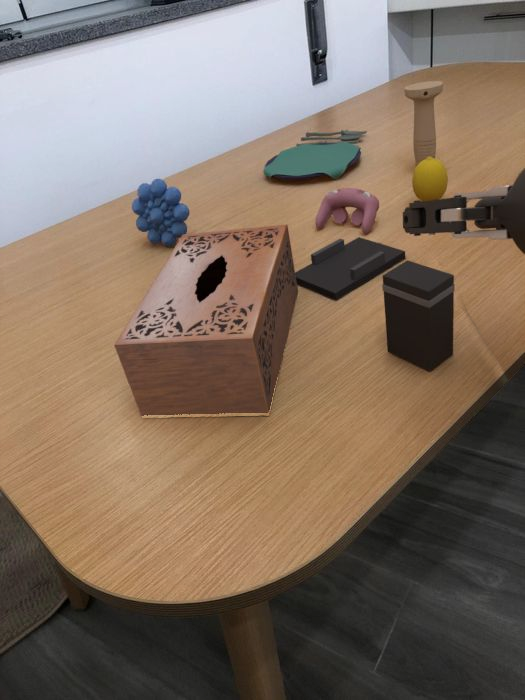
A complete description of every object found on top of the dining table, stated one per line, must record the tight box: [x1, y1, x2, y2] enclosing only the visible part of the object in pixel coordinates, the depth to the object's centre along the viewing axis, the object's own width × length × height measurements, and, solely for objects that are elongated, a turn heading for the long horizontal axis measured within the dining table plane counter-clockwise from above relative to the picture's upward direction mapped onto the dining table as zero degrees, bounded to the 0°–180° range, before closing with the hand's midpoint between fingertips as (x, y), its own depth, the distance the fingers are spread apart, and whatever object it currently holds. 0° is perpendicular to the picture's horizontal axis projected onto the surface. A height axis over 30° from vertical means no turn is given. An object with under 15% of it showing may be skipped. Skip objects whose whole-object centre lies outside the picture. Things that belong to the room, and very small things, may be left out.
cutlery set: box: [262, 129, 368, 180], centre depth 127 cm, size 20×30×2 cm, turn 157°
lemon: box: [411, 157, 449, 202], centre depth 97 cm, size 6×6×8 cm
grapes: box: [131, 178, 190, 248], centre depth 101 cm, size 12×7×12 cm, turn 63°
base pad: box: [295, 236, 406, 301], centre depth 85 cm, size 14×9×3 cm, turn 129°
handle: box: [404, 80, 444, 167], centre depth 108 cm, size 5×6×15 cm
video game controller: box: [314, 187, 380, 235], centre depth 97 cm, size 10×5×7 cm, turn 57°
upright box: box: [381, 260, 456, 372], centre depth 64 cm, size 4×6×10 cm
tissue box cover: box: [113, 224, 299, 417], centre depth 72 cm, size 26×14×10 cm, turn 170°
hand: (448, 218), depth 54 cm, fingers open, 8 cm apart
